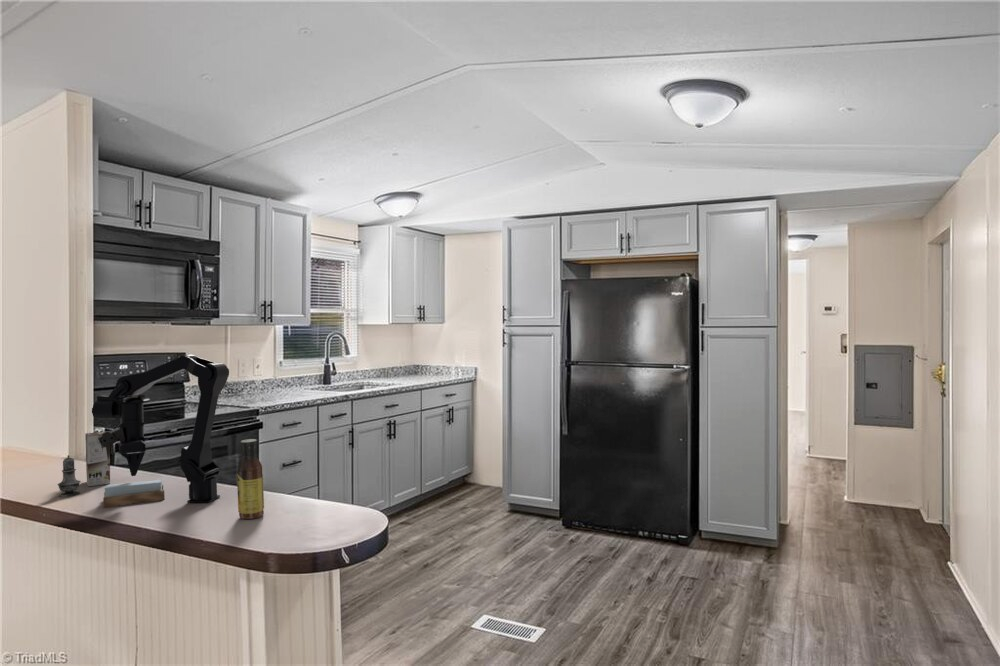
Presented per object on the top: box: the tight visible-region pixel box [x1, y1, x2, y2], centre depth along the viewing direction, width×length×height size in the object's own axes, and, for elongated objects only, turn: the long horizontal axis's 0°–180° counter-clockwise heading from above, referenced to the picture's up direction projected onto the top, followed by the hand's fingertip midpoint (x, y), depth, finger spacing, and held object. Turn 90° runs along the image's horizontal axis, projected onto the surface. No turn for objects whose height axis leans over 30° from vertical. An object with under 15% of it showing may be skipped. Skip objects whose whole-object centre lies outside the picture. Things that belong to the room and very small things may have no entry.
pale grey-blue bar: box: [104, 479, 163, 497], centre depth 186 cm, size 14×4×5 cm, turn 114°
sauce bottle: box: [236, 438, 265, 520], centre depth 166 cm, size 6×6×20 cm
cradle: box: [102, 484, 165, 509], centre depth 186 cm, size 15×9×2 cm, turn 120°
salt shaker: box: [56, 454, 82, 498], centre depth 195 cm, size 6×6×12 cm
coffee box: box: [84, 430, 111, 487], centre depth 210 cm, size 9×6×16 cm
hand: (133, 472), depth 186 cm, fingers open, 9 cm apart
